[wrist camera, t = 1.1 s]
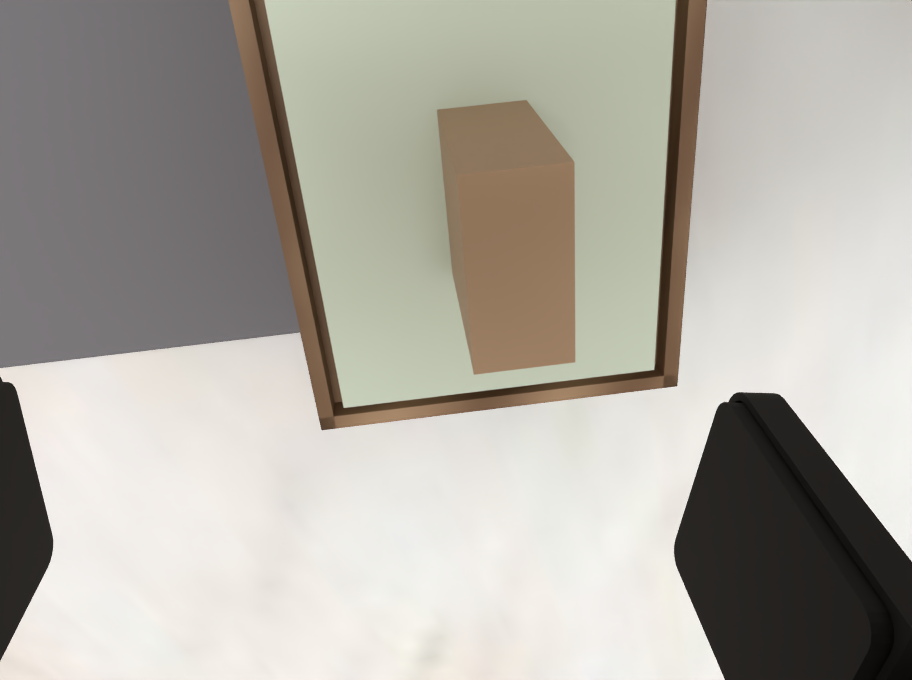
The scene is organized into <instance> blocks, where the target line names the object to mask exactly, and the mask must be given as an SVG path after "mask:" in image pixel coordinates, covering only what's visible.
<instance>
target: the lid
mask: <svg viewBox="0 0 912 680" xmlns="http://www.w3.org/2000/svg"><path fill="white" fill-rule="evenodd" d="M264 1H265V7H266V12H267V17H268V22H269V27H270V32H271V37H272V42H273V48H274V53H275V58H276V63H277V68H278V73H279V78H280V84H281V89H282V94H283V99H284V104H285V109H286V114H287V119H288V125H289V130H290V135H291V140H292V145H293V150H294V155H295V161H296V166H297V171H298V176H299V181H300V186H301V191H302V196H303V202H304V207H305V212H306V217H307V222H308V227H309V232H310V237H311V243H312V248H313V253H314V258H315V263H316V268H317V273H318V279H319V284H320V289H321V294H322V299H323V304H324V309H325V314H326V320H327V325H328V330H329V335H330V340H331V345H332V350H333V356H334V361H335V366H336V371H337V376H338V381H339V386H340V391H341V397H342V402H343V407H344V408H348V407H356V406H364V405H372V404H381V403H389V402H397V401H405V400H413V399H421V398H429V397H438V396H446V395H454V394H462V393H470V392H478V391H486V390H495V389H503V388H511V387H519V386H527V385H535V384H543V383H551V382H560V381H568V380H576V379H584V378H592V377H600V376H608V375H617V374H625V373H633V372H641V371H649V370H654V367H655V349H656V332H657V315H658V298H659V281H660V264H661V247H662V229H663V212H664V195H665V178H666V161H667V144H668V127H669V109H670V92H671V75H672V58H673V41H674V24H675V7H676V0H264Z"/></svg>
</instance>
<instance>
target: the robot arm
mask: <svg viewBox="0 0 912 680" xmlns="http://www.w3.org/2000/svg"><path fill="white" fill-rule="evenodd" d="M52 551H53V536H52V532H51V528H50V524H49V520H48V516H47V511H46V507H45V503H44V499H43V495H42V491H41V487H40V483H39V479H38V475H37V471H36V467H35V463H34V459H33V455H32V451H31V447H30V443H29V439H28V435H27V431H26V427H25V423H24V419H23V415H22V411H21V407H20V403H19V399H18V395H17V391H16V389H15V387H14V386H13V384H11V383H9V382H2V379H1V377H0V660H1V658H2V656H3V654H4V652H5V651H6V649H7V647H8V645H9V643H10V641H11V639H12V637H13V635H14V633H15V631H16V629H17V627H18V625H19V623H20V621H21V619H22V617H23V615H24V613H25V611H26V609H27V607H28V605H29V603H30V601H31V599H32V597H33V595H34V593H35V591H36V589H37V587H38V585H39V583H40V582H41V580H42V578H43V576H44V574H45V572H46V570H47V568H48V565H49V563H50V560H51V556H52ZM674 556H675V562H676V566H677V569H678V571H679V573H680V576H681V578H682V580H683V583H684V585H685V587H686V590H687V592H688V594H689V597H690V599H691V601H692V604H693V606H694V608H695V611H696V613H697V615H698V618H699V620H700V622H701V625H702V627H703V629H704V632H705V634H706V636H707V639H708V641H709V643H710V646H711V648H712V650H713V653H714V655H715V657H716V660H717V662H718V664H719V667H720V669H721V671H722V674H723V676H724V678H725V680H912V562H911V560H910V559H909V558H908V556H907V555H906V554H905V553H904V551H903V550H902V549H901V548H900V546H899V545H898V544H897V542H896V541H895V540H894V539H893V537H892V536H891V535H890V533H889V532H888V531H887V530H886V528H885V527H884V526H883V525H882V523H881V522H880V521H879V519H878V518H877V517H876V516H875V514H874V513H873V512H872V510H871V509H870V508H869V507H868V505H867V504H866V503H865V502H864V500H863V499H862V498H861V496H860V495H859V494H858V493H857V491H856V490H855V489H854V488H853V486H852V485H851V484H850V482H849V481H848V480H847V479H846V477H845V476H844V475H843V473H842V472H841V471H840V470H839V468H838V467H837V466H836V465H835V463H834V462H833V461H832V459H831V458H830V457H829V456H828V454H827V453H826V452H825V450H824V449H823V448H822V447H821V445H820V444H819V443H818V442H817V440H816V439H815V438H814V436H813V435H812V434H811V433H810V431H809V430H808V429H807V427H806V426H805V425H804V424H803V422H802V421H801V420H800V419H799V417H798V416H797V415H796V413H795V412H794V411H793V410H792V408H791V407H790V406H789V405H788V403H787V402H786V401H785V399H784V398H783V397H781V396H780V395H779V394H775V393H743V392H738V393H736V394H734V395H733V396H732V397H731V398H730V400H729V402H724V403H721V404H720V405H719V406H718V408H717V411H716V413H715V417H714V420H713V423H712V426H711V429H710V432H709V436H708V439H707V442H706V445H705V448H704V451H703V454H702V458H701V461H700V464H699V467H698V470H697V473H696V477H695V480H694V483H693V486H692V489H691V492H690V495H689V499H688V502H687V505H686V508H685V511H684V514H683V518H682V521H681V524H680V527H679V530H678V533H677V536H676V540H675V545H674Z"/></svg>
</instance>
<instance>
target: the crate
mask: <svg viewBox="0 0 912 680" xmlns="http://www.w3.org/2000/svg"><path fill="white" fill-rule="evenodd" d="M228 1H229V6H230V10H231V15H232V20H233V24H234V29H235V33H236V38H237V43H238V47H239V52H240V56H241V61H242V66H243V70H244V75H245V79H246V84H247V89H248V93H249V98H250V103H251V107H252V112H253V116H254V121H255V126H256V130H257V135H258V139H259V144H260V149H261V153H262V158H263V162H264V167H265V172H266V176H267V181H268V185H269V190H270V195H271V199H272V204H273V209H274V213H275V218H276V222H277V227H278V232H279V236H280V241H281V245H282V250H283V255H284V259H285V264H286V268H287V273H288V278H289V282H290V287H291V291H292V296H293V301H294V305H295V310H296V315H297V319H298V324H299V328H300V333H301V338H302V342H303V347H304V351H305V356H306V361H307V365H308V370H309V374H310V379H311V384H312V388H313V393H314V397H315V402H316V407H317V411H318V416H319V421H320V425H321V430H327V429H335V428H343V427H351V426H359V425H367V424H375V423H383V422H391V421H399V420H407V419H416V418H424V417H432V416H440V415H448V414H456V413H464V412H472V411H480V410H488V409H496V408H504V407H512V406H521V405H529V404H537V403H545V402H553V401H561V400H569V399H577V398H585V397H593V396H601V395H609V394H617V393H625V392H634V391H642V390H650V389H658V388H666V387H674V386H677V382H678V369H679V356H680V343H681V330H682V317H683V304H684V291H685V278H686V265H687V253H688V240H689V227H690V214H691V201H692V188H693V175H694V162H695V149H696V136H697V124H698V111H699V98H700V85H701V72H702V59H703V46H704V33H705V20H706V7H707V0H676V7H675V24H674V41H673V58H672V75H671V92H670V109H669V127H668V144H667V161H666V178H665V195H664V212H663V229H662V247H661V264H660V281H659V298H658V315H657V332H656V349H655V367H654V370H649V371H641V372H633V373H625V374H617V375H608V376H600V377H592V378H584V379H576V380H568V381H560V382H551V383H543V384H535V385H527V386H519V387H511V388H503V389H495V390H486V391H478V392H470V393H462V394H454V395H446V396H438V397H429V398H421V399H413V400H405V401H397V402H389V403H381V404H372V405H364V406H356V407H348V408H344V407H343V402H342V397H341V391H340V386H339V381H338V376H337V371H336V366H335V361H334V356H333V350H332V345H331V340H330V335H329V330H328V325H327V320H326V314H325V309H324V304H323V299H322V294H321V289H320V284H319V279H318V273H317V268H316V263H315V258H314V253H313V248H312V243H311V237H310V232H309V227H308V222H307V217H306V212H305V207H304V202H303V196H302V191H301V186H300V181H299V176H298V171H297V166H296V161H295V155H294V150H293V145H292V140H291V135H290V130H289V125H288V119H287V114H286V109H285V104H284V99H283V94H282V89H281V84H280V78H279V73H278V68H277V63H276V58H275V53H274V48H273V42H272V37H271V32H270V27H269V22H268V17H267V12H266V7H265V1H264V0H228Z"/></svg>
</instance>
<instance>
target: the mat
mask: <svg viewBox="0 0 912 680" xmlns="http://www.w3.org/2000/svg"><path fill="white" fill-rule="evenodd" d="M299 332H300V328H299V324H298V319H297V315H296V310H295V305H294V301H293V296H292V291H291V287H290V282H289V278H288V273H287V268H286V264H285V259H284V255H283V250H282V245H281V241H280V236H279V232H278V227H277V222H276V218H275V213H274V209H273V204H272V199H271V195H270V190H269V185H268V181H267V176H266V172H265V167H264V162H263V158H262V153H261V149H260V144H259V139H258V135H257V130H256V126H255V121H254V116H253V112H252V107H251V103H250V98H249V93H248V89H247V84H246V79H245V75H244V70H243V66H242V61H241V56H240V52H239V47H238V43H237V38H236V33H235V29H234V24H233V20H232V15H231V10H230V6H229V1H228V0H0V368H4V367H12V366H21V365H29V364H38V363H46V362H54V361H63V360H71V359H80V358H88V357H97V356H105V355H113V354H122V353H130V352H139V351H147V350H156V349H164V348H172V347H181V346H189V345H198V344H206V343H215V342H223V341H231V340H240V339H248V338H257V337H265V336H273V335H282V334H290V333H299Z"/></svg>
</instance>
